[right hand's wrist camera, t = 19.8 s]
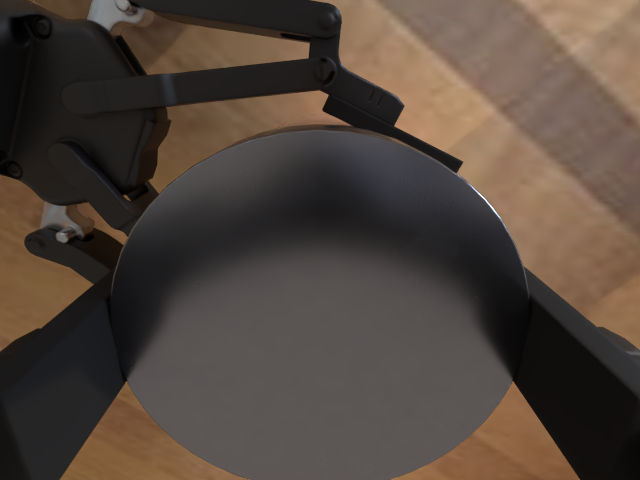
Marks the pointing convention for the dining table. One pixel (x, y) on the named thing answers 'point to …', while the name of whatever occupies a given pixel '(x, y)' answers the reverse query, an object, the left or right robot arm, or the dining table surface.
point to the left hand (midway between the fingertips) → (392, 260)
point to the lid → (319, 307)
